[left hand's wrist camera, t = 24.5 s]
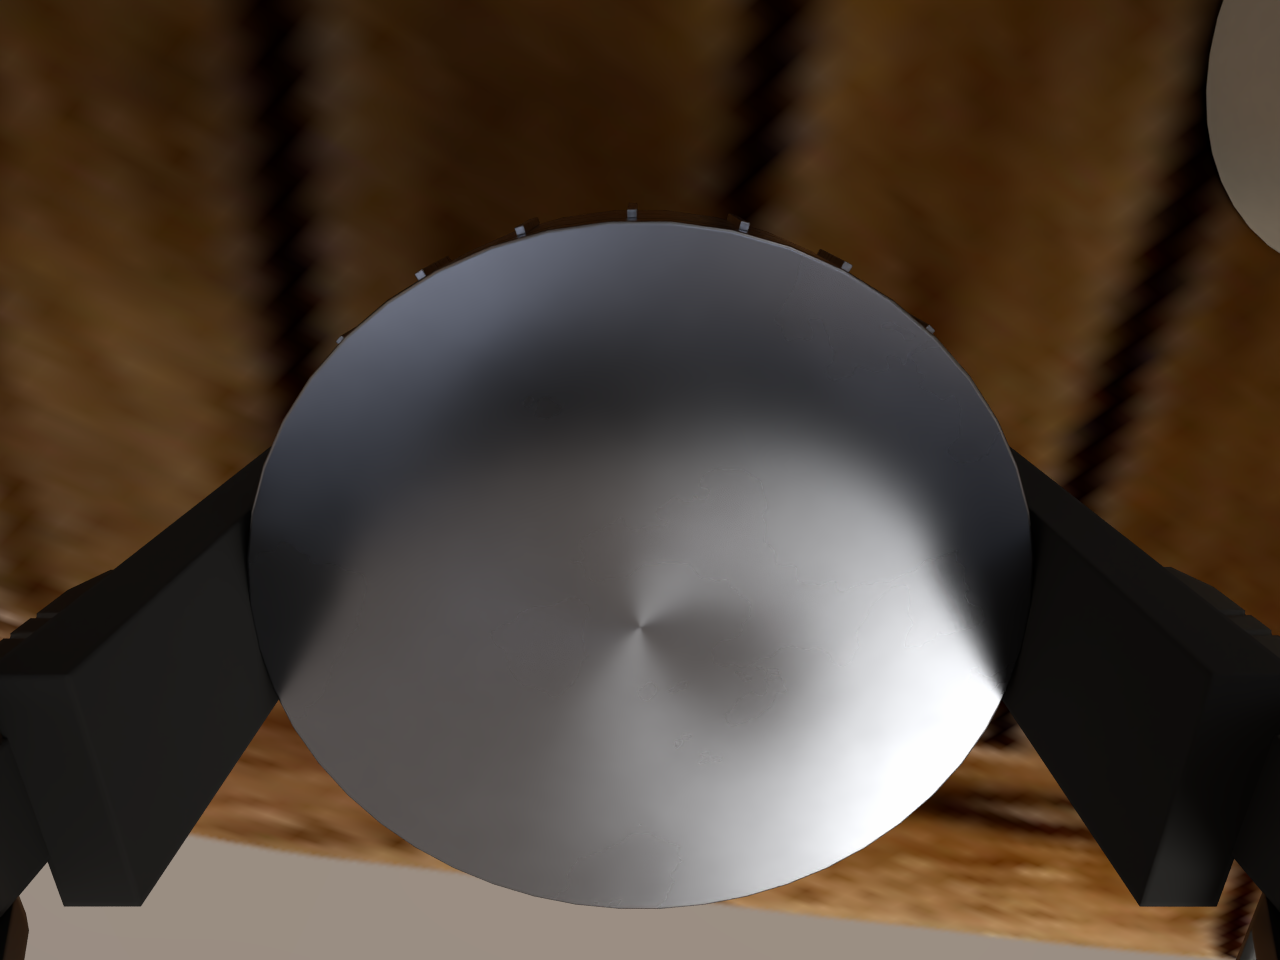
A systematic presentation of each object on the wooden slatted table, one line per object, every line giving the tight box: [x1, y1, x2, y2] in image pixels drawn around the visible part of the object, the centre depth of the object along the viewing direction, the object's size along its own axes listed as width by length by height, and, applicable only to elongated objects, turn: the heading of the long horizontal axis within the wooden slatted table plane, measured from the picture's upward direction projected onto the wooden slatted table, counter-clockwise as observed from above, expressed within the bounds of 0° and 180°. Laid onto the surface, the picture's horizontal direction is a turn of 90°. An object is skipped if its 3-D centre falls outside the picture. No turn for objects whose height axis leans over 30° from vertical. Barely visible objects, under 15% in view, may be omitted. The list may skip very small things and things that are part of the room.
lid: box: [247, 203, 1034, 909], centre depth 11 cm, size 10×10×2 cm
